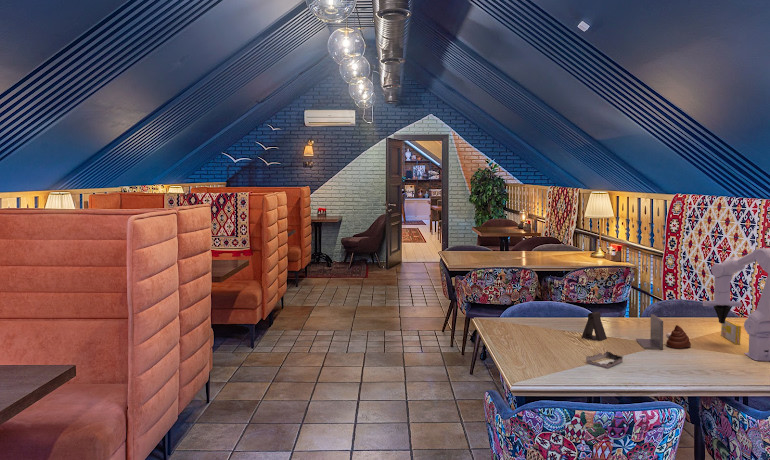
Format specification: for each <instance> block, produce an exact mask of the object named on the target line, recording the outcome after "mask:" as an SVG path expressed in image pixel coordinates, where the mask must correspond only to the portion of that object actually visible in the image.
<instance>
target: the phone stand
mask: <svg viewBox="0 0 770 460" xmlns="http://www.w3.org/2000/svg"><path fill="white" fill-rule="evenodd" d="M593 333H594V335H593ZM581 338H582V339H587V340H592V341H597V342H602V341H604V340H607V334H606V331H605V328H604V325H603V322H602V318H601V312H600V311H597V310H596V311H593V312H589V313H588V314H587V321H586V325H584V330H583V332H582V335H581Z"/></svg>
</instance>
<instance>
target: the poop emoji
mask: <svg viewBox="0 0 770 460" xmlns="http://www.w3.org/2000/svg"><path fill="white" fill-rule="evenodd" d="M666 339H667V340H666V342H665V344H666V346H667V347H669V348H671V349H677V350H678V349H679V350H680V349H684V348H686V349H688V348H691V345H692V343H691V341H690V338H689V336H688V335H687V333H686V332H685V331H684V329H683V328H682V327H681V326H680V325H678V324H675V326H674V329H673V330H672V331H671V332H667V334H666Z"/></svg>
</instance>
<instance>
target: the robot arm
mask: <svg viewBox="0 0 770 460" xmlns="http://www.w3.org/2000/svg"><path fill="white" fill-rule="evenodd" d="M753 263H757V264H758V266H760V267H761V269H762V270H763V271H764V272H765V273H767V278H766V281H765V284H764V287H763V288H762V292H761V295H760V297H759V301H758V303H757V307H756V309H755V310H754V311H752V312H751V313H750V314H749V315H748V317H747V319H745V320H744V322H743V327H744V330H745V332H746V334H747V335H748V352H743V354H744V355H745V356H747V357H749V358H750V359H752V360H753V361H758V362H759V361H761V362H762V361H763V362H765V361H766V362H770V247H768V248H767V247H765V248H764V247H759V248H757V249H754V250H752V251H750V252H749V253H748V254H745V255H743V256H742V257H739V256H731V257H730V259H728V260H723V261H722V262H721V263H714V264H713V265H712V266H711V270H710V271H711V274H712V276H713V277H714V290H713V291H714V293H713V294H714V296H713V297H714V300H703V301H702V306H703V307H713V309H714V311H715V313H716V315H717V318H718V323H720V324H722V323H725V319H727V317H728V314H729V313H730V311H731V307H739V308H741V307H742V305H743V304H742V302H741V301H733V300H731V281H732V280H733V279H732V277H733V276H734V275H735V274H736V273H738V272H740V271H743V270H744V269H745V267H746V266H748V265H751V264H753Z"/></svg>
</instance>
